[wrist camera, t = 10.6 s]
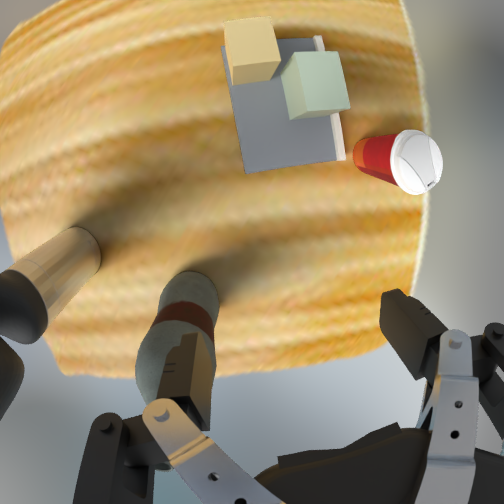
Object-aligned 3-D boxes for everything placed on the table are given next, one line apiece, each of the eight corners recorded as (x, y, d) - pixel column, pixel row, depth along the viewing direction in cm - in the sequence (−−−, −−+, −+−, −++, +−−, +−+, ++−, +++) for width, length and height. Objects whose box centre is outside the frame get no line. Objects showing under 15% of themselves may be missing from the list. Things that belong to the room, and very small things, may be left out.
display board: (245, 172, 38) (246, 174, 35) (221, 50, 31) (220, 43, 28) (338, 159, 38) (346, 160, 35) (315, 42, 31) (321, 35, 28)
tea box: (289, 120, 34) (307, 111, 25) (280, 73, 31) (294, 52, 23) (325, 116, 34) (352, 108, 25) (316, 70, 31) (339, 51, 23)
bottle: (156, 275, 42) (83, 436, 14) (209, 260, 42) (184, 439, 14) (177, 321, 46) (142, 482, 18) (227, 310, 46) (229, 482, 18)
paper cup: (395, 164, 38) (452, 176, 25) (361, 189, 40) (413, 209, 27) (373, 122, 36) (428, 117, 23) (336, 146, 37) (384, 147, 24)
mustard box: (232, 85, 31) (233, 66, 23) (225, 48, 29) (223, 21, 21) (271, 80, 31) (283, 60, 23) (262, 43, 29) (271, 16, 21)
